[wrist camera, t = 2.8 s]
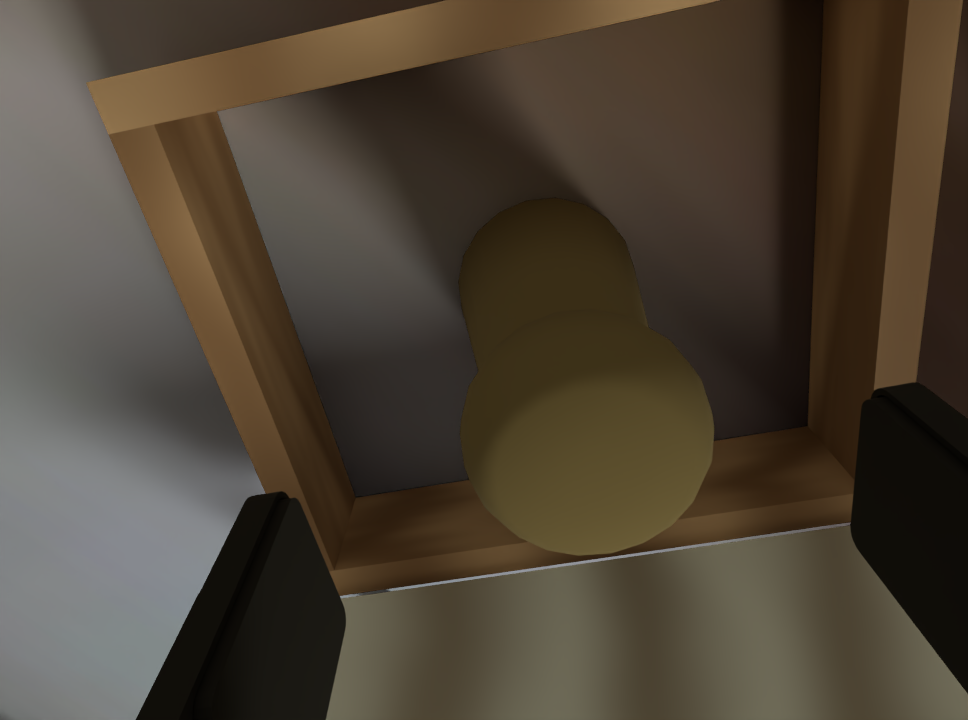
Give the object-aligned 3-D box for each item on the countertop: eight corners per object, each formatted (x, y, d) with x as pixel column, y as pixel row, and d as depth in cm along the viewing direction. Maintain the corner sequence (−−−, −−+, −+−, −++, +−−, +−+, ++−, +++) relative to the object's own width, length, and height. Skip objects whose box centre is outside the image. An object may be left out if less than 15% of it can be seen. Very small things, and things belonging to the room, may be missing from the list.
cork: (663, 311, 22) (810, 523, 12) (516, 392, 23) (539, 641, 13) (580, 160, 20) (676, 267, 10) (423, 260, 21) (367, 443, 11)
